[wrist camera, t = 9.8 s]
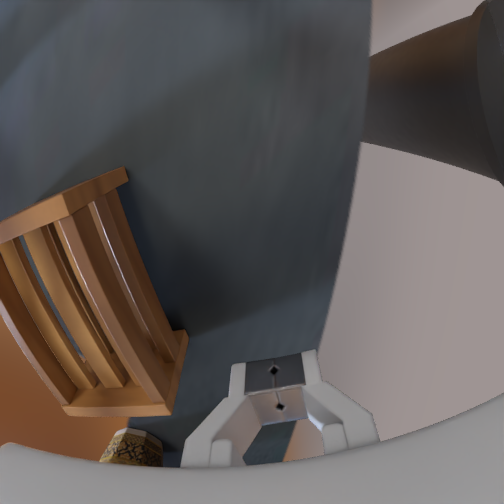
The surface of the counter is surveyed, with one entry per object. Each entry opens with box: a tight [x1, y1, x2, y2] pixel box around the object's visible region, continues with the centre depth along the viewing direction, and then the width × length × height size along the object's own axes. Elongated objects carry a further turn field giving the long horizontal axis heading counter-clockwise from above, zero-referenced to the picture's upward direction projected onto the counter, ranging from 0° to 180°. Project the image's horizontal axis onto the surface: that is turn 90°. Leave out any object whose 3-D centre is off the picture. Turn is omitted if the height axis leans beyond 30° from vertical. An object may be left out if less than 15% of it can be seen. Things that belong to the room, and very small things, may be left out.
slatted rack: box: [0, 166, 189, 417], centre depth 21 cm, size 10×16×9 cm, turn 14°
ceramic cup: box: [99, 427, 163, 467], centre depth 31 cm, size 13×10×10 cm
